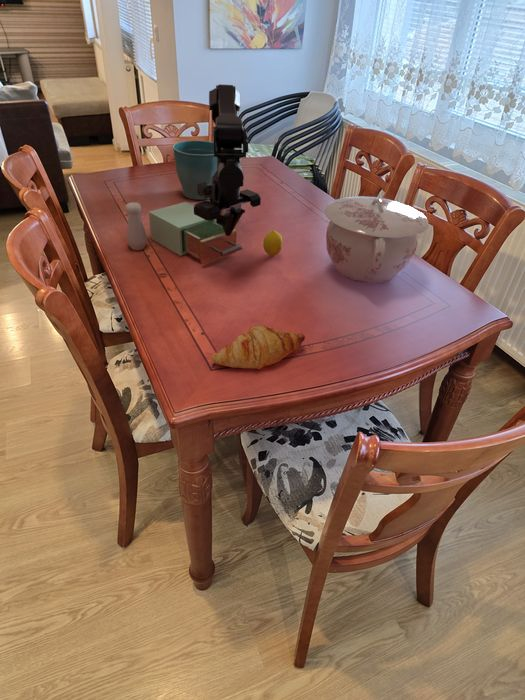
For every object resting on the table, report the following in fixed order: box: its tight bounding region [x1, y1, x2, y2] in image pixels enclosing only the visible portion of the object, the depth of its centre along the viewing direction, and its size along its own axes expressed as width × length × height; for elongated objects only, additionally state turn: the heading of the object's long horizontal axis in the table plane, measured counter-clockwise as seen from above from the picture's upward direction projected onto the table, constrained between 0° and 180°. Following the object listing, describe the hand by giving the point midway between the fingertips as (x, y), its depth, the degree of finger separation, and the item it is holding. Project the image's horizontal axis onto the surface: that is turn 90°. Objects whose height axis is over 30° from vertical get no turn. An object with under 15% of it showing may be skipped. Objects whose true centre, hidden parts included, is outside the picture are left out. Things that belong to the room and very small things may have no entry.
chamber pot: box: [323, 195, 429, 284], centre depth 127 cm, size 28×28×21 cm
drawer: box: [181, 220, 243, 266], centre depth 133 cm, size 19×12×7 cm, turn 45°
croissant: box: [211, 325, 306, 370], centre depth 98 cm, size 21×10×8 cm, turn 115°
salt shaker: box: [125, 201, 148, 251], centre depth 133 cm, size 6×6×13 cm
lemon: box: [263, 229, 284, 257], centre depth 135 cm, size 6×6×8 cm
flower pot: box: [172, 139, 217, 201], centre depth 169 cm, size 18×18×17 cm
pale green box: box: [148, 201, 216, 257], centre depth 139 cm, size 15×14×9 cm
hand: (227, 235), depth 126 cm, fingers closed
